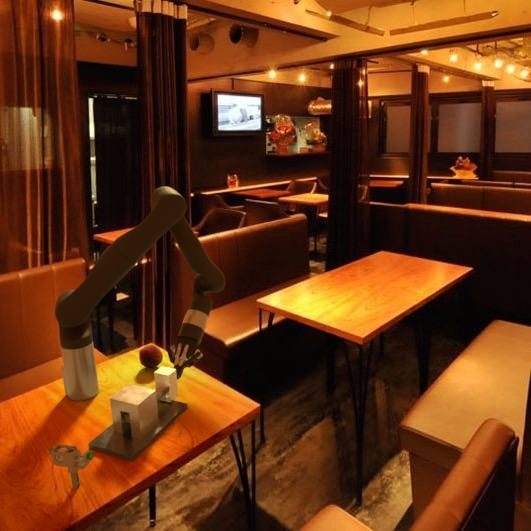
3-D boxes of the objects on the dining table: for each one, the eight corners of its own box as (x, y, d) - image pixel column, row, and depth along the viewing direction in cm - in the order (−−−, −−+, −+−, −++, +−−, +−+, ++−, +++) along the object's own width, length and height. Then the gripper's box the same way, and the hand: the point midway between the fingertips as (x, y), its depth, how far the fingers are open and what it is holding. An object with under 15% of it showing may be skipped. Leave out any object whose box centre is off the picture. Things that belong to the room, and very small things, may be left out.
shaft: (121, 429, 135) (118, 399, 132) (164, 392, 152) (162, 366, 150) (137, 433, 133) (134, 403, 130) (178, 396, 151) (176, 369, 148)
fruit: (165, 362, 176) (163, 341, 174) (161, 372, 168) (159, 351, 166) (143, 362, 176) (141, 341, 174) (137, 373, 168) (135, 351, 166)
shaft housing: (88, 448, 130) (83, 410, 127) (148, 398, 153) (145, 364, 150) (132, 462, 125) (128, 422, 121) (187, 408, 148) (185, 373, 144)
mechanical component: (92, 493, 115) (87, 456, 112) (52, 487, 116) (46, 451, 114) (99, 484, 117) (94, 448, 114) (60, 479, 119) (54, 443, 116)
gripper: (170, 319, 160) (151, 370, 152) (207, 325, 155) (188, 378, 147) (180, 328, 166) (162, 378, 158) (216, 334, 161) (198, 386, 153)
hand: (175, 378), depth 153 cm, fingers closed
